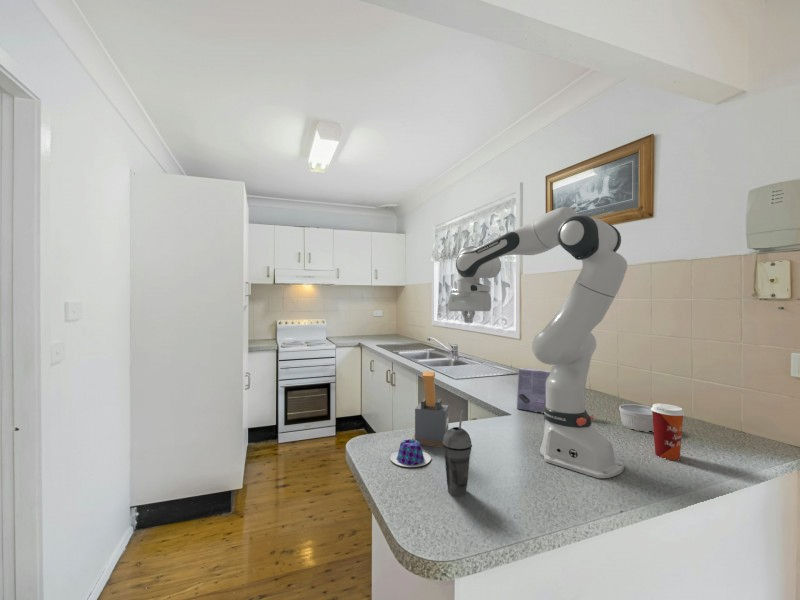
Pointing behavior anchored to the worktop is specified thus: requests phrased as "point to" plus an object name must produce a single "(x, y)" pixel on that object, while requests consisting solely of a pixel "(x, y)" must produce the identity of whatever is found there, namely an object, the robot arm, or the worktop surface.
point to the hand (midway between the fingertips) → (468, 322)
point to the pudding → (410, 454)
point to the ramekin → (637, 417)
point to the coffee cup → (667, 430)
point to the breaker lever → (429, 388)
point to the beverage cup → (457, 459)
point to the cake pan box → (532, 389)
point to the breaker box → (431, 423)
